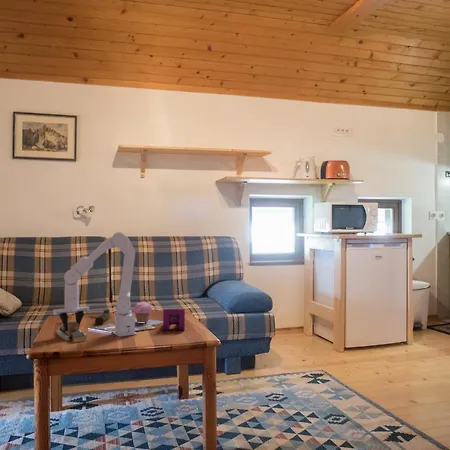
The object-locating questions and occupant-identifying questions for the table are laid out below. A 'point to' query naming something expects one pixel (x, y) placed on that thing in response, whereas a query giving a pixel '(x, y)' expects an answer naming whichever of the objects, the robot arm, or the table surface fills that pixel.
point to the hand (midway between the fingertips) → (71, 330)
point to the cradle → (66, 335)
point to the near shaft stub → (77, 336)
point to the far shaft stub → (61, 328)
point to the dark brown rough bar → (102, 317)
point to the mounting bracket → (169, 318)
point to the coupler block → (71, 327)
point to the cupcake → (142, 311)
